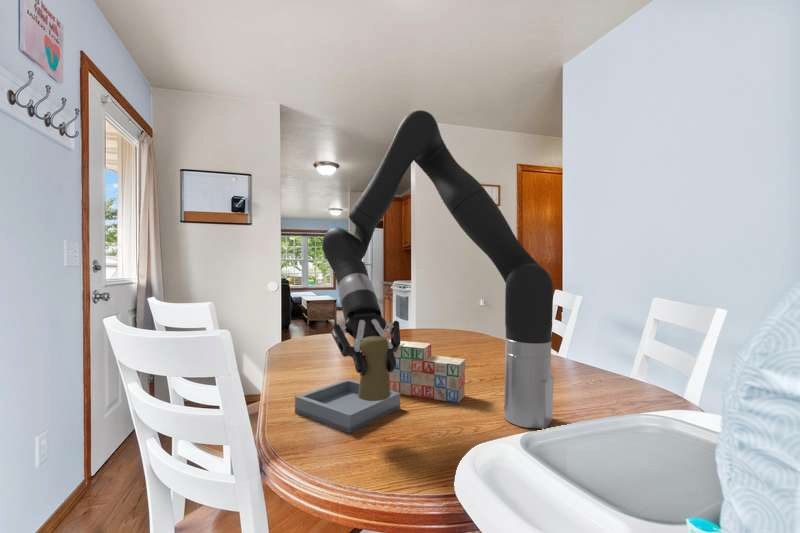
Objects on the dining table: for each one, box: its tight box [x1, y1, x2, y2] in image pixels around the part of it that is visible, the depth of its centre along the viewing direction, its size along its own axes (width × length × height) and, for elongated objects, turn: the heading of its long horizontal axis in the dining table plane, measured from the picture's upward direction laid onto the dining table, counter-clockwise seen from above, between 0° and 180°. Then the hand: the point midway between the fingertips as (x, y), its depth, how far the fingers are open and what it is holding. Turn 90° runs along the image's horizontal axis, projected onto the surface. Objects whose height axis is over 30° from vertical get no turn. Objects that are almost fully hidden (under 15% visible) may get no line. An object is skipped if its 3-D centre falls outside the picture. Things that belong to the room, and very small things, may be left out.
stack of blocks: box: [387, 339, 466, 404], centre depth 98 cm, size 21×6×12 cm, turn 66°
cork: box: [358, 336, 390, 401], centre depth 72 cm, size 6×6×11 cm
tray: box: [294, 378, 401, 435], centre depth 85 cm, size 16×16×4 cm
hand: (377, 371), depth 70 cm, fingers closed on cork, 5 cm apart
